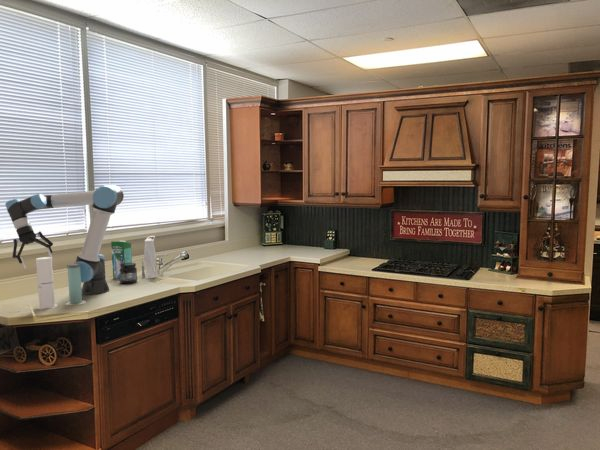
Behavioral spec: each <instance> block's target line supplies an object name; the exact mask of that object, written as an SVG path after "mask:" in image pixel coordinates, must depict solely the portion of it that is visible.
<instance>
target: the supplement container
mask: <svg viewBox="0 0 600 450" xmlns="http://www.w3.org/2000/svg"><path fill="white" fill-rule="evenodd" d="M137 270H138V269H137V264H136V262H132V263H122V264H120V270H119V271H120V279H119V282H120V284H123V285H125V284H126V285H130V284H134V283H137V282H138V271H137Z"/></svg>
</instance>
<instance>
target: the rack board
mask: <svg viewBox="0 0 600 450" xmlns="http://www.w3.org/2000/svg"><path fill="white" fill-rule="evenodd" d="M86 303H87V300H83V299H82V303H79V304H70V301H68V302H66V303H65V305H66V306H78V305H83V304H86ZM57 307H59V305H58V304H56V303H55V306H54V307H51V308H39V305H38V306H37V307H36V309H37V310H50V309H54V308H57Z"/></svg>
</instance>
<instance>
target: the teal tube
mask: <svg viewBox="0 0 600 450" xmlns="http://www.w3.org/2000/svg"><path fill="white" fill-rule="evenodd" d="M80 266H81V265H80V264H74V263H71V264H67V265H66V268H67V279H68V280H67V281H68V283H67V284H68V297H69V302H70V304H79V303H82V300H83V294H82V282H81V272H80ZM79 305H80V304H79Z"/></svg>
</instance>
